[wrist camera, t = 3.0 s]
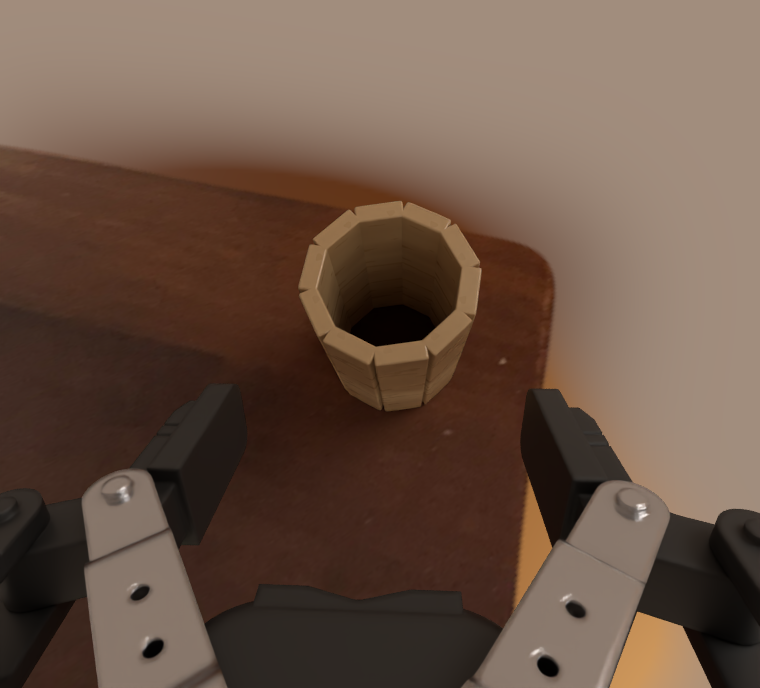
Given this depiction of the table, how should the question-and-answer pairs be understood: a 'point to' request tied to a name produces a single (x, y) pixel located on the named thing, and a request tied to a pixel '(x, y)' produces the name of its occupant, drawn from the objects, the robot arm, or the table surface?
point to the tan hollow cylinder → (391, 299)
